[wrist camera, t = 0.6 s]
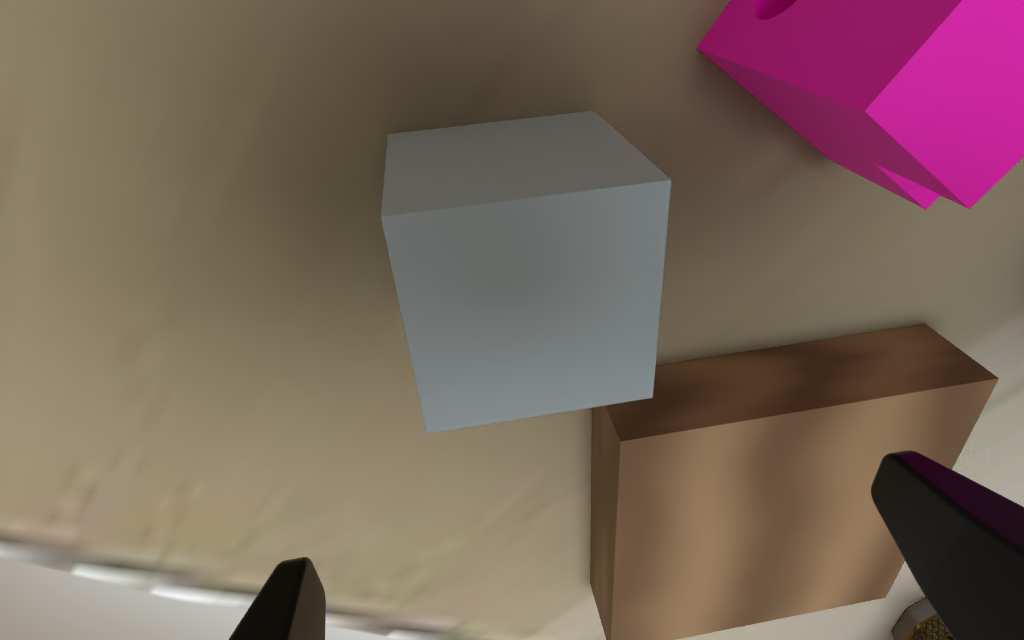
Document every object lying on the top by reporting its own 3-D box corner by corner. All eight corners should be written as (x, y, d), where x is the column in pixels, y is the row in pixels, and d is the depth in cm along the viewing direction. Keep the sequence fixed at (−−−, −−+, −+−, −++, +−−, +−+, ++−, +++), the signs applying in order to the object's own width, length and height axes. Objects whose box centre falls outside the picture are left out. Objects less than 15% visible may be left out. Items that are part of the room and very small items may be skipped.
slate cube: (593, 109, 17) (671, 179, 12) (592, 286, 20) (652, 397, 15) (387, 133, 16) (380, 216, 12) (421, 310, 20) (426, 434, 15)
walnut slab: (917, 318, 24) (998, 378, 21) (835, 529, 32) (885, 597, 29) (589, 368, 23) (620, 441, 20) (588, 575, 31) (610, 652, 27)
